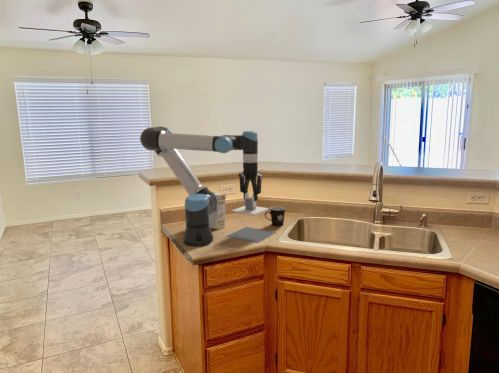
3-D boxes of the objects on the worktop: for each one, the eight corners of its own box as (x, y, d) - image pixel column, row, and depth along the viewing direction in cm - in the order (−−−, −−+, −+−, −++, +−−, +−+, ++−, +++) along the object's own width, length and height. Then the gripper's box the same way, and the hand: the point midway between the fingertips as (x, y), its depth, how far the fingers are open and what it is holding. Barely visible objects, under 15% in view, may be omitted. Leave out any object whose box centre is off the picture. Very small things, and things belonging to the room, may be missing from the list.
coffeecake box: (225, 227, 208) (226, 193, 206) (216, 229, 203) (217, 195, 200) (207, 223, 217) (207, 190, 215) (198, 225, 212) (198, 191, 210)
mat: (225, 237, 191) (225, 236, 191) (246, 227, 208) (246, 226, 208) (257, 243, 181) (257, 243, 181) (277, 232, 197) (277, 232, 197)
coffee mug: (285, 223, 215) (285, 206, 213) (285, 227, 207) (285, 210, 205) (265, 222, 216) (265, 206, 214) (264, 227, 208) (264, 210, 206)
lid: (231, 212, 190) (231, 199, 189) (246, 206, 201) (246, 194, 200) (254, 216, 182) (254, 202, 181) (268, 210, 194) (268, 197, 193)
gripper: (268, 162, 186) (268, 206, 190) (240, 160, 195) (241, 202, 199) (260, 163, 179) (260, 209, 184) (232, 161, 188) (233, 205, 193)
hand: (250, 206), depth 191 cm, fingers closed on lid, 4 cm apart
